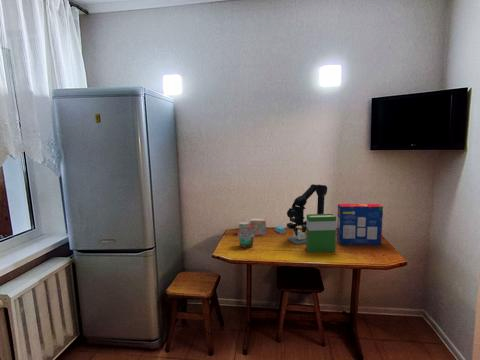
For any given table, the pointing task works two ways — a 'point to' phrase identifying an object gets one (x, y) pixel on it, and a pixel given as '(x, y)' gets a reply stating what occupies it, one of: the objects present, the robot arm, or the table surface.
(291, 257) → the table surface
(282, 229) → the teal brick
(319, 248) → the green cereal box
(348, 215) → the blue product box
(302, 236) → the cream brick
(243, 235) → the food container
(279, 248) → the table surface
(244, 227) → the stack of blocks
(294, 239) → the baseplate
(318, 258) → the table surface
